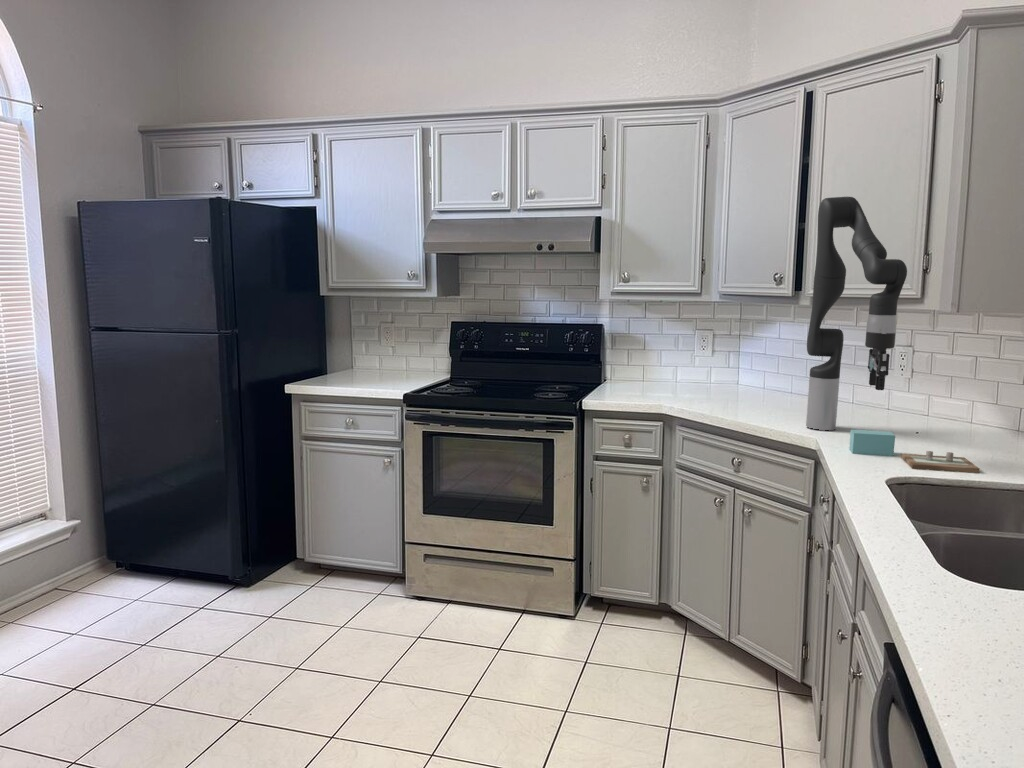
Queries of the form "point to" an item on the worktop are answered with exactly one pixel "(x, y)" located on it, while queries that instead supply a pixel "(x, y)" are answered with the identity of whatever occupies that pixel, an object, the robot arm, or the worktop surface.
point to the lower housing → (872, 442)
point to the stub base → (939, 462)
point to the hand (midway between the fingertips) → (876, 387)
